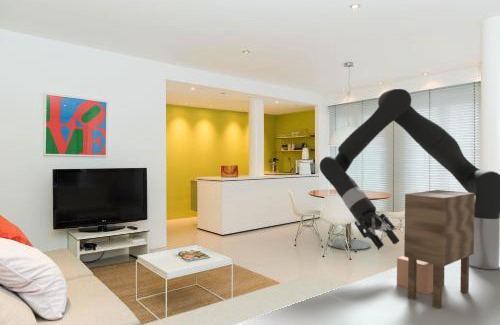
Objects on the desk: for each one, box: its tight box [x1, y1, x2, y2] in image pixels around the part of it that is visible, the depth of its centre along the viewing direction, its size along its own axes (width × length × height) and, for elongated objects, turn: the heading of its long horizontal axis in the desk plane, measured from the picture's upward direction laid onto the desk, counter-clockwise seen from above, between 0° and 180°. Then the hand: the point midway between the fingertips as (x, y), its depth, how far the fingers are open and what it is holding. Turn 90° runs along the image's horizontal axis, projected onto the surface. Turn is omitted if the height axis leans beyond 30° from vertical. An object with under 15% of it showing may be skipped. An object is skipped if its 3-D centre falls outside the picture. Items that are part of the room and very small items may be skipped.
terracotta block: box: [396, 255, 433, 295], centre depth 97 cm, size 4×9×8 cm, turn 36°
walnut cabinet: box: [403, 189, 475, 309], centre depth 92 cm, size 18×11×28 cm, turn 126°
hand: (389, 244), depth 104 cm, fingers open, 8 cm apart
